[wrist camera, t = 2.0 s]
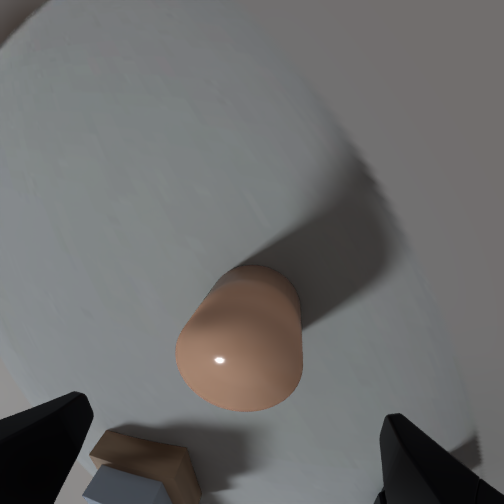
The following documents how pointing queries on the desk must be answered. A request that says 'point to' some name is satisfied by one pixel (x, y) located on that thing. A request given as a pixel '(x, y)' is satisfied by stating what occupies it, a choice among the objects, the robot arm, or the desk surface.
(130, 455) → the tower base
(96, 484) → the tower mid
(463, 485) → the robot arm
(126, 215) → the desk surface
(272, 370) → the clay cylinder
